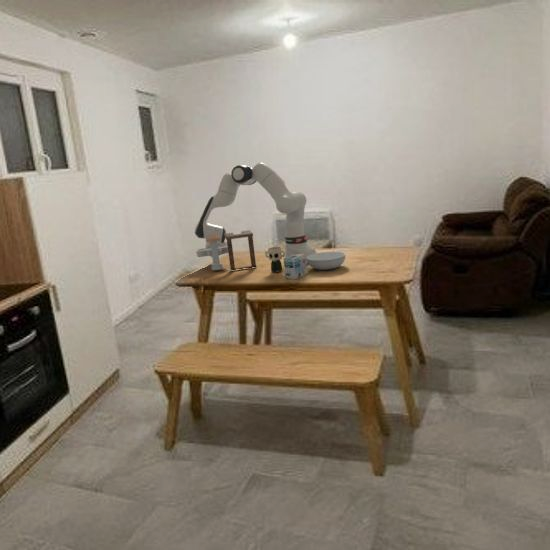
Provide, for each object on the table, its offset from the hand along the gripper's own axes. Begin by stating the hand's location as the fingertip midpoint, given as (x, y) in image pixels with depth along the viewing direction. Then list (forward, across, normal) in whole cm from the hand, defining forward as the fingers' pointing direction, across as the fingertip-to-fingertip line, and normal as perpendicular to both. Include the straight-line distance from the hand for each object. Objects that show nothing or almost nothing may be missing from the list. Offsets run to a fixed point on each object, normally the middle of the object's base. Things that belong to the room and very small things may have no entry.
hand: (215, 253), depth 279 cm
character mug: (+21, +31, +11) cm, 39 cm away
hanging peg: (-1, 0, +9) cm, 9 cm away
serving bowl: (+30, +56, +11) cm, 65 cm away
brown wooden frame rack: (-1, +14, +11) cm, 18 cm away
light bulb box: (+38, +38, +11) cm, 55 cm away
